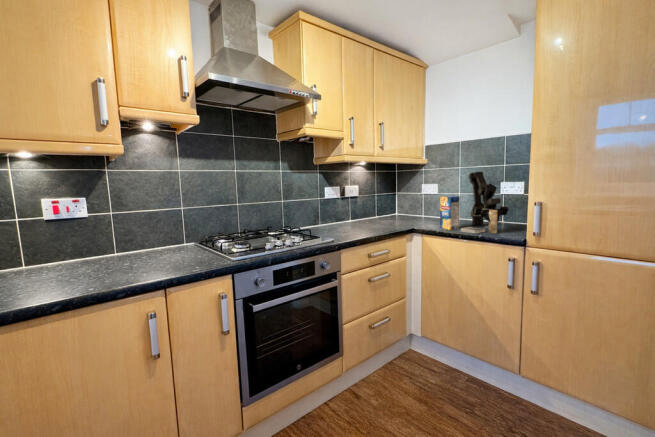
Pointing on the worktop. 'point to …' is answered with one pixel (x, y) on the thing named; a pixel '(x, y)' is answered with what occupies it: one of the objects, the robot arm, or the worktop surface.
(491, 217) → the maple peg
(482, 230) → the hole plate
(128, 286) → the worktop surface
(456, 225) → the blue yellow food box
